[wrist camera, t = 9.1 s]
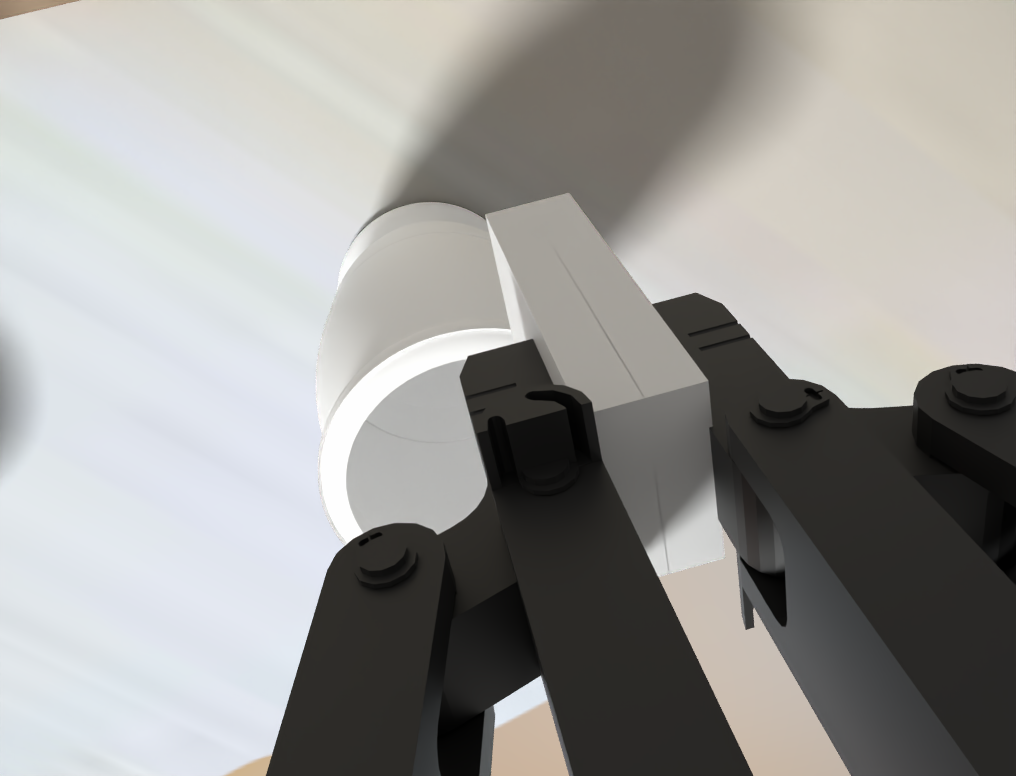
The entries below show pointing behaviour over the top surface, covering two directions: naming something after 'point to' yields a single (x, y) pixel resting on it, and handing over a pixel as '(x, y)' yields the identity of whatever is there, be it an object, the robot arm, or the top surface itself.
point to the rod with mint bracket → (27, 6)
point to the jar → (406, 370)
